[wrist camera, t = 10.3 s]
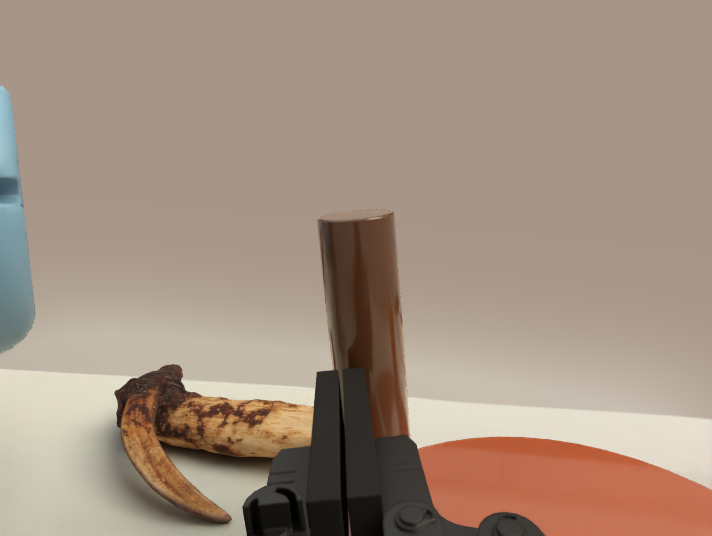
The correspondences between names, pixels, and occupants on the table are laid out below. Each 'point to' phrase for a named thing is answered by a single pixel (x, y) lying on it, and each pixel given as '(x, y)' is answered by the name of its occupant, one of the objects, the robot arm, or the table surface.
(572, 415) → the table surface
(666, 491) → the orange disc
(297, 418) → the lashed bone hook
